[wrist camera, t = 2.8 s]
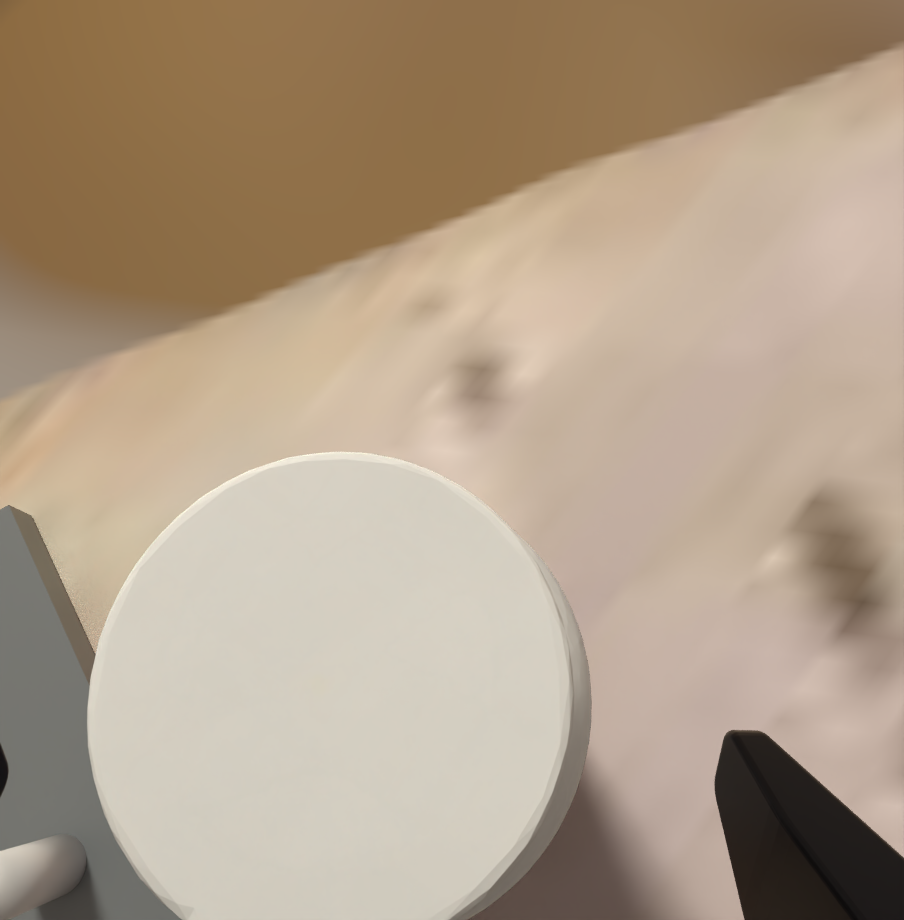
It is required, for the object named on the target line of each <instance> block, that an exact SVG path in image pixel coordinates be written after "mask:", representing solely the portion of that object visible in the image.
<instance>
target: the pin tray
mask: <svg viewBox="0 0 904 920" xmlns="http://www.w3.org/2000/svg"><path fill="white" fill-rule="evenodd" d="M94 660H95V654H94V652H93V650H92V648H91V645H90V643H89V641H88V639H87V637H86V634H85V632H84V630H83V628H82V626H81V623H80V621H79V619H78V617H77V615H76V613H75V610H74V608H73V606H72V604H71V602H70V599H69V597H68V595H67V593H66V591H65V588H64V586H63V584H62V582H61V580H60V577H59V575H58V573H57V571H56V569H55V566H54V564H53V562H52V560H51V558H50V555H49V553H48V551H47V549H46V547H45V545H44V542H43V540H42V538H41V536H40V534H39V531H38V529H37V527H36V525H35V523H34V520H33V518H32V516H31V515H29V514H27V513H25V512H23V511H20V510H18V509H16V508H14V507H12V506H10V505H8V506H6V507H4V508H2V509H1V510H0V743H1V745H2V748H3V751H4V754H5V756H6V759H7V762H8V768H9V773H8V779H7V783H6V786H5V789H4V791H3V793H2V795H1V797H0V920H182V919H180V918H179V917H178V916H177V915H176V914H175V913H174V912H173V911H172V910H170V909H169V908H168V907H167V906H166V905H164V904H163V903H162V902H161V901H160V900H159V899H158V898H157V897H156V896H155V895H154V893H153V892H152V891H151V890H150V889H149V888H148V887H147V886H146V885H145V884H144V882H143V881H142V880H141V879H140V878H139V877H138V875H137V873H136V872H135V870H134V869H133V867H132V865H131V864H130V862H129V861H128V859H127V857H126V856H125V854H124V853H123V851H122V849H121V848H120V846H119V844H118V843H117V841H116V840H115V837H114V835H113V833H112V831H111V828H110V826H109V824H108V821H107V819H106V817H105V815H104V812H103V809H102V805H101V802H100V799H99V796H98V792H97V789H96V785H95V782H94V778H93V773H92V767H91V761H90V755H89V749H88V732H87V707H88V697H89V688H90V679H91V674H92V669H93V665H94Z"/></svg>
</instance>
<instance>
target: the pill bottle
mask: <svg viewBox="0 0 904 920" xmlns="http://www.w3.org/2000/svg"><path fill="white" fill-rule="evenodd" d="M591 705H592V700H591V686H590V674H589V666H588V660H587V656H586V652H585V647H584V643H583V639H582V636H581V633H580V630H579V627H578V624H577V621H576V619H575V616H574V614H573V611H572V609H571V606H570V604H569V602H568V600H567V598H566V596H565V594H564V592H563V590H562V589H561V587H560V585H559V583H558V582H557V580H556V578H555V577H554V575H553V574H552V572H551V571H550V570H549V568H548V567H547V565H546V564H545V562H544V561H543V560H542V559H541V558H540V557H539V555H538V554H537V553H536V552H535V551H534V549H533V548H532V547H531V546H530V545H529V544H528V543H527V542H526V541H525V540H523V539H522V538H521V537H520V536H519V535H518V534H517V533H516V532H515V531H514V530H513V529H512V528H511V527H510V526H509V525H508V524H507V523H506V522H505V521H504V520H503V519H502V518H501V517H500V516H499V515H498V514H497V513H496V512H495V511H494V510H492V509H491V508H490V507H489V506H487V505H486V504H485V503H484V502H483V501H481V500H480V499H479V498H478V497H476V496H475V495H473V494H472V493H470V492H469V491H468V490H466V489H465V488H463V487H462V486H460V485H459V484H457V483H455V482H453V481H451V480H449V479H447V478H445V477H443V476H441V475H440V474H438V473H436V472H434V471H431V470H429V469H426V468H423V467H421V466H418V465H415V464H413V463H410V462H407V461H403V460H400V459H397V458H392V457H386V456H381V455H376V454H370V453H359V452H326V453H315V454H308V455H301V456H295V457H289V458H285V459H282V460H279V461H276V462H273V463H270V464H267V465H264V466H261V467H258V468H255V469H252V470H250V471H247V472H245V473H243V474H241V475H239V476H237V477H235V478H233V479H231V480H229V481H227V482H225V483H223V484H222V485H220V486H219V487H217V488H215V489H214V490H212V491H211V492H209V493H207V494H206V495H204V496H202V497H201V498H200V499H199V500H197V501H196V502H195V503H194V504H192V505H191V506H190V507H189V508H187V509H186V510H185V511H184V512H182V513H181V514H180V515H179V516H178V517H177V518H176V519H175V520H174V521H173V522H172V523H171V524H170V525H169V526H168V527H167V528H166V529H165V530H164V531H163V532H162V533H161V534H160V535H159V536H158V537H157V538H156V539H155V541H154V542H153V543H152V544H151V545H150V546H149V548H148V549H147V550H146V552H145V553H144V554H143V556H142V557H141V558H140V560H139V561H138V562H137V564H136V565H135V566H134V568H133V570H132V571H131V573H130V574H129V576H128V578H127V579H126V581H125V583H124V585H123V586H122V588H121V590H120V592H119V594H118V596H117V598H116V600H115V602H114V604H113V606H112V608H111V611H110V613H109V615H108V618H107V620H106V623H105V625H104V628H103V631H102V633H101V636H100V638H99V642H98V647H97V651H96V656H95V660H94V665H93V669H92V674H91V679H90V688H89V697H88V707H87V732H88V749H89V755H90V761H91V767H92V773H93V778H94V782H95V785H96V789H97V792H98V796H99V799H100V802H101V805H102V809H103V812H104V815H105V817H106V819H107V821H108V824H109V826H110V828H111V831H112V833H113V835H114V837H115V840H116V841H117V843H118V844H119V846H120V848H121V849H122V851H123V853H124V854H125V856H126V857H127V859H128V861H129V862H130V864H131V865H132V867H133V869H134V870H135V872H136V873H137V875H138V877H139V878H140V879H141V880H142V881H143V882H144V884H145V885H146V886H147V887H148V888H149V889H150V890H151V891H152V892H153V893H154V895H155V896H156V897H157V898H158V899H159V900H160V901H161V902H162V903H163V904H164V905H166V906H167V907H168V908H169V909H170V910H172V911H173V912H174V913H175V914H176V915H177V916H178V917H179V918H180V919H182V920H467V919H469V918H471V917H473V916H474V915H476V914H478V913H479V912H481V911H483V910H484V909H486V908H487V907H489V906H490V905H491V904H492V903H494V902H495V901H496V900H498V899H499V898H500V897H501V896H503V895H504V894H505V893H506V892H507V891H508V890H510V889H511V888H512V887H513V886H514V885H515V884H516V883H517V882H518V881H519V880H520V879H521V878H522V877H524V876H525V875H526V874H527V872H528V871H529V870H530V869H531V867H532V866H533V865H534V864H535V863H536V861H537V860H538V859H539V858H540V856H541V855H542V854H543V852H544V851H545V849H546V848H547V847H548V845H549V844H550V842H551V841H552V839H553V838H554V836H555V834H556V833H557V831H558V830H559V828H560V826H561V824H562V822H563V820H564V818H565V816H566V814H567V812H568V810H569V808H570V806H571V803H572V801H573V798H574V796H575V793H576V791H577V788H578V785H579V781H580V778H581V775H582V771H583V767H584V763H585V759H586V754H587V749H588V744H589V737H590V728H591Z"/></svg>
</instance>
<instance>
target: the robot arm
mask: <svg viewBox="0 0 904 920" xmlns="http://www.w3.org/2000/svg"><path fill="white" fill-rule="evenodd" d="M8 773H9V768H8V762H7V759H6V756H5V754H4V751H3V748H2V745H1V743H0V797H1V795H2V793H3V791H4V789H5V786H6V783H7V779H8ZM715 795H716V801H717V805H718V809H719V813H720V818H721V822H722V826H723V830H724V835H725V839H726V843H727V847H728V852H729V856H730V860H731V864H732V869H733V873H734V877H735V881H736V886H737V890H738V894H739V899H740V903H741V907H742V911H743V915H744V919H745V920H904V858H903V857H902V856H901V855H900V854H899V853H898V852H897V851H896V850H894V849H893V848H892V847H891V846H890V845H889V844H888V843H887V842H886V841H884V840H883V839H882V838H881V837H880V836H879V835H878V834H877V833H876V832H874V831H873V830H872V829H871V828H870V827H869V826H868V825H867V824H866V823H864V822H863V821H862V820H861V819H860V818H859V817H858V816H857V815H856V814H854V813H853V812H852V811H851V810H850V809H849V808H848V807H847V806H846V805H844V804H843V803H842V802H841V801H840V800H839V799H838V798H837V797H836V796H834V795H833V794H832V793H831V792H830V791H829V790H828V789H827V788H826V787H824V786H823V785H822V784H821V783H820V782H819V781H818V780H817V779H816V778H814V777H813V776H812V775H811V774H810V773H809V772H808V771H807V770H806V769H804V768H803V767H802V766H801V765H800V764H799V763H798V762H797V761H796V760H794V759H793V758H792V757H791V756H790V755H789V754H788V753H787V752H786V751H784V750H783V749H782V748H781V747H780V746H779V745H778V744H777V743H776V742H774V741H773V740H772V739H771V738H770V737H769V736H768V735H766V734H765V733H763V732H761V731H752V730H731V731H729V732H727V733H726V735H725V737H724V740H723V744H722V748H721V753H720V757H719V762H718V766H717V771H716V775H715Z"/></svg>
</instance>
